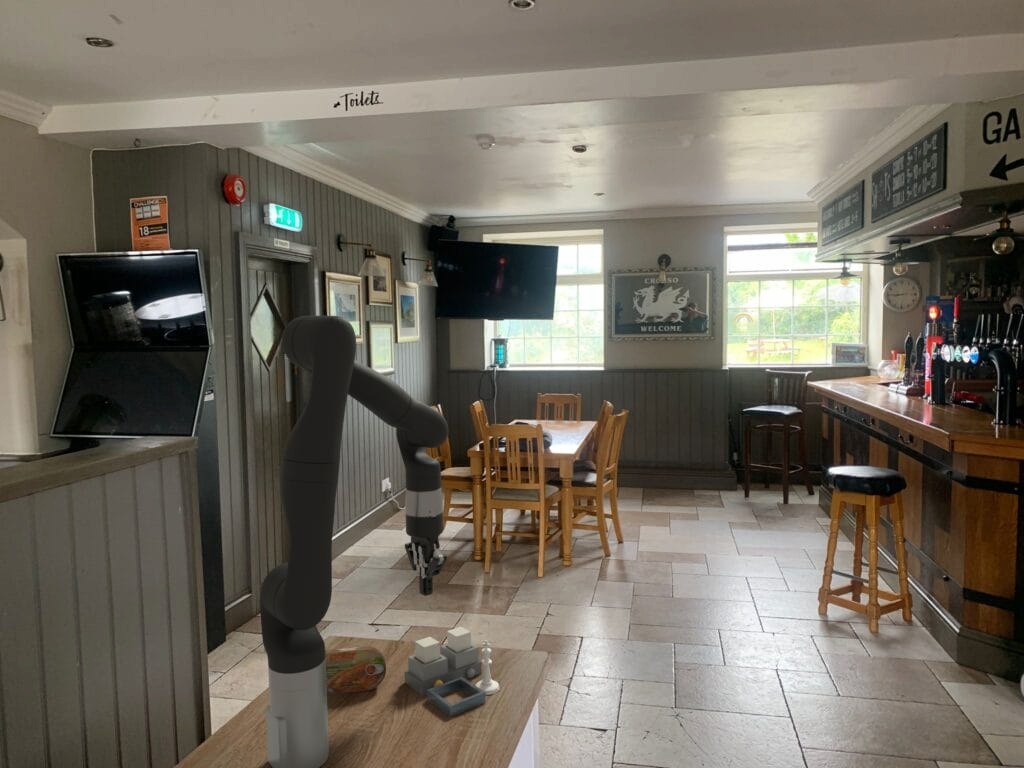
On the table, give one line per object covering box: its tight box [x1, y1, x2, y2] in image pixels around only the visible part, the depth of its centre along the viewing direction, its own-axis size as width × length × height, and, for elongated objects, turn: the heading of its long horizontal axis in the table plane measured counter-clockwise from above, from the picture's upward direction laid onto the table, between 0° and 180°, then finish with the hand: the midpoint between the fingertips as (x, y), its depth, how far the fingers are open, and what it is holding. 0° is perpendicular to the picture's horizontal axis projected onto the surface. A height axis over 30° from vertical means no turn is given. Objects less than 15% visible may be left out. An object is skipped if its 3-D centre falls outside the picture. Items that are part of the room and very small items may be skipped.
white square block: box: [414, 636, 441, 664], centre depth 145 cm, size 4×4×3 cm
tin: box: [325, 645, 387, 695], centre depth 144 cm, size 15×3×8 cm, turn 99°
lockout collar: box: [426, 677, 487, 718], centre depth 139 cm, size 8×8×2 cm
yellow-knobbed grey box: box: [403, 642, 483, 697], centre depth 148 cm, size 14×8×6 cm, turn 128°
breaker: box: [446, 626, 472, 652], centre depth 150 cm, size 4×4×3 cm
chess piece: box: [474, 639, 500, 696], centre depth 143 cm, size 5×5×10 cm
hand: (426, 594), depth 145 cm, fingers closed
